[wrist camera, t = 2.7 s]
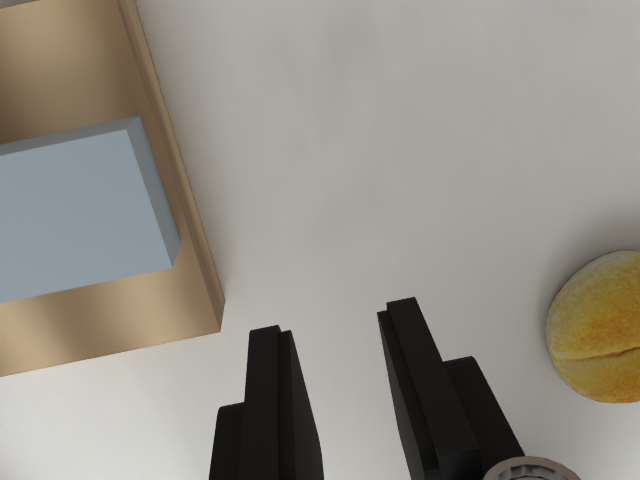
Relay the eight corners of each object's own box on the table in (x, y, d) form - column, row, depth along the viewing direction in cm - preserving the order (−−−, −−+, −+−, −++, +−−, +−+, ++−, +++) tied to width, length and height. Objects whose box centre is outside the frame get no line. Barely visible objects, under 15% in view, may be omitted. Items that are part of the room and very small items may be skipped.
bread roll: (673, 224, 32) (723, 255, 29) (685, 354, 36) (732, 396, 32) (525, 272, 33) (556, 309, 29) (552, 396, 37) (583, 442, 33)
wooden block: (128, -17, 26) (111, -16, 23) (225, 301, 32) (220, 331, 30) (-142, 42, 26) (-192, 50, 23) (8, 346, 32) (-17, 380, 30)
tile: (139, 115, 25) (125, 129, 23) (181, 243, 27) (172, 267, 25) (-70, 159, 25) (-104, 178, 23) (-10, 283, 28) (-36, 310, 25)
